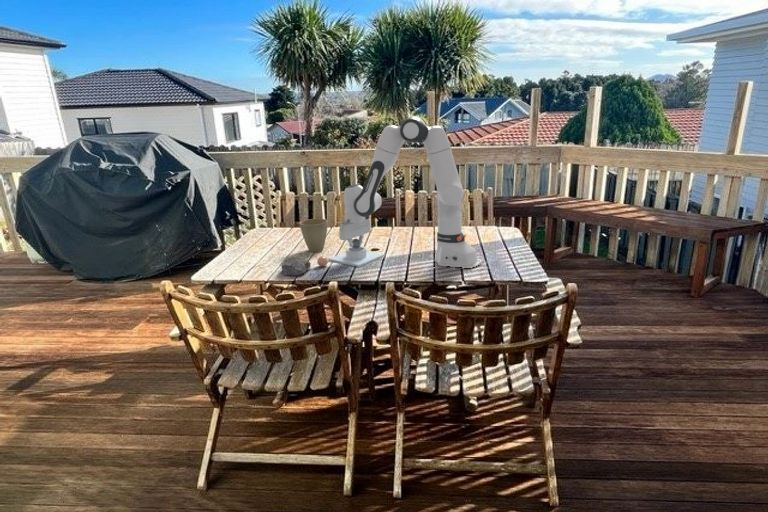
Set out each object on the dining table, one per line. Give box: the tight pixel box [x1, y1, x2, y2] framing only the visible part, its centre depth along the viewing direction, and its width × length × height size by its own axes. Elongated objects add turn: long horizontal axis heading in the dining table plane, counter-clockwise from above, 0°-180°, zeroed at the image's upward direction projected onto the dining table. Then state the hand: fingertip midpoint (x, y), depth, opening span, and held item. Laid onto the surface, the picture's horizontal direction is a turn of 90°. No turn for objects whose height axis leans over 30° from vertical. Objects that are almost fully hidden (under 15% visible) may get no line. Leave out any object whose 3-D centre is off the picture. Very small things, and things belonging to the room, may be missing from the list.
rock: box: [281, 256, 312, 277], centre depth 209 cm, size 13×6×15 cm
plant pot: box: [299, 218, 329, 253], centre depth 241 cm, size 15×15×16 cm
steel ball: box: [352, 238, 362, 249], centre depth 224 cm, size 5×5×5 cm
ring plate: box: [327, 245, 385, 268], centre depth 226 cm, size 20×20×5 cm
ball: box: [316, 255, 329, 267], centre depth 216 cm, size 5×5×5 cm
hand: (356, 244), depth 224 cm, fingers open, 5 cm apart
